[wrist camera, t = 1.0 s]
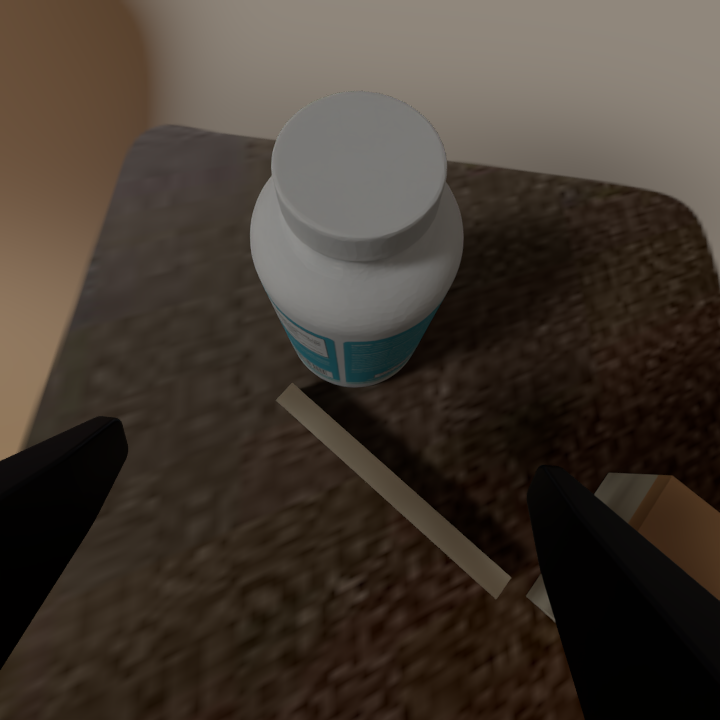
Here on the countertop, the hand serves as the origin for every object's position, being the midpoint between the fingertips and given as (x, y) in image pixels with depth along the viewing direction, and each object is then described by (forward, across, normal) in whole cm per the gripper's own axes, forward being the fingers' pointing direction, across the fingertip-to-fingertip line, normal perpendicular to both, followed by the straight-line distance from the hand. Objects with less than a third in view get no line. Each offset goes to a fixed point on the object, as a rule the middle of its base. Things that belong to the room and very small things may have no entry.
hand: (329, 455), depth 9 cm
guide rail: (+9, -2, +10) cm, 14 cm away
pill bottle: (+15, 0, +4) cm, 16 cm away
